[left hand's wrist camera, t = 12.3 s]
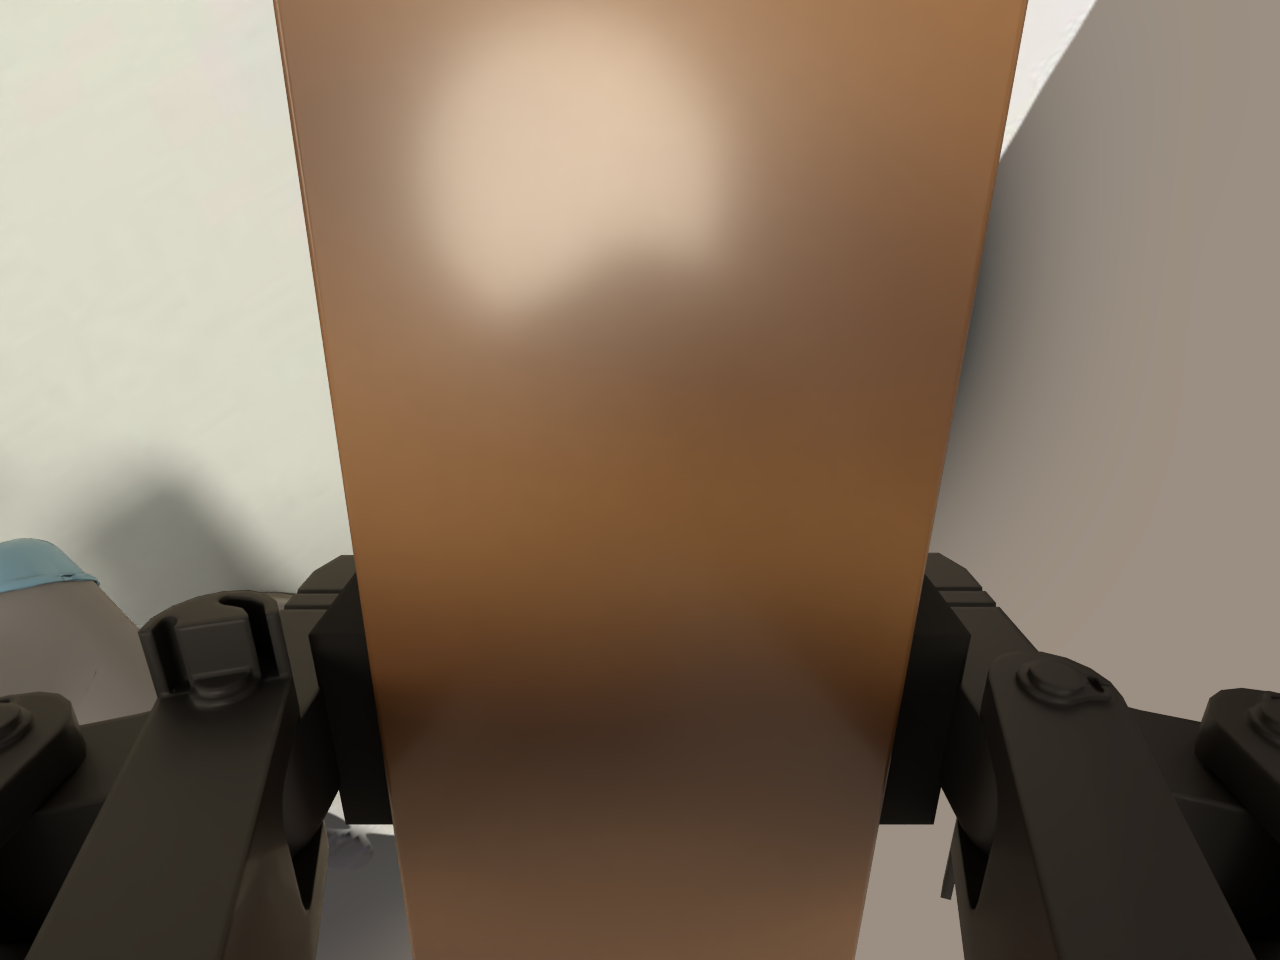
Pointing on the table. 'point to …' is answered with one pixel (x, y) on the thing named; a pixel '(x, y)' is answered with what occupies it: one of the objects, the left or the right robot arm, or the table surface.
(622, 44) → the post
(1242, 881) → the left robot arm
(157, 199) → the table surface
